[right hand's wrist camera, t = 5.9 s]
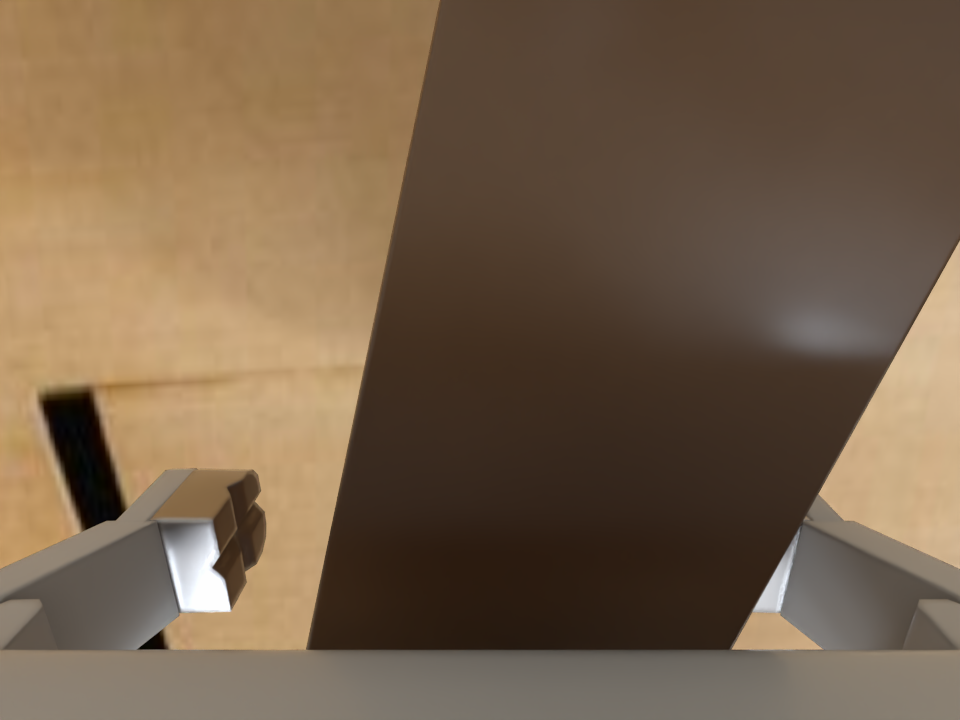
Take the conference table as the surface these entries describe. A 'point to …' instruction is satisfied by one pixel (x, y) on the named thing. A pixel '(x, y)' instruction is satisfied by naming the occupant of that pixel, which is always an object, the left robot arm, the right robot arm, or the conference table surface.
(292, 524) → the conference table surface
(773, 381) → the bar
